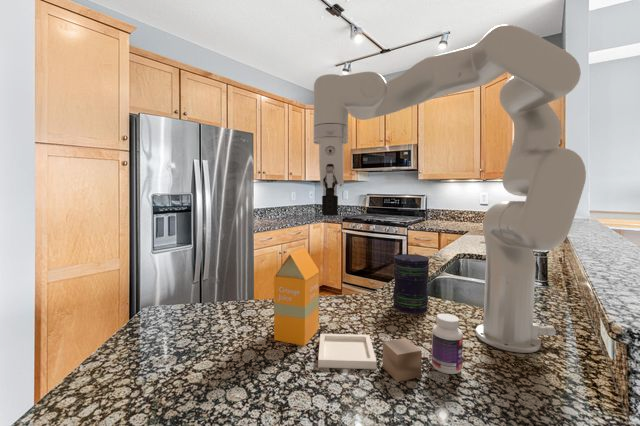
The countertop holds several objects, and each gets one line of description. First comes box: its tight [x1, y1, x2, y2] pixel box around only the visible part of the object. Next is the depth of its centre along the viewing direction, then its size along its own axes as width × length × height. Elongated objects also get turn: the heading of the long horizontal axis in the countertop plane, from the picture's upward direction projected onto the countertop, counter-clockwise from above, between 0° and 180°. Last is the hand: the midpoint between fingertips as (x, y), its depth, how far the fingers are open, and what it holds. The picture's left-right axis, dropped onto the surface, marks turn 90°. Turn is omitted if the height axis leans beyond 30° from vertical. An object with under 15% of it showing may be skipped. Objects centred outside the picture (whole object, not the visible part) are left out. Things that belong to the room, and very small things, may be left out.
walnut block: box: [382, 337, 423, 383], centre depth 56 cm, size 5×5×5 cm
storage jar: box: [392, 253, 430, 315], centre depth 89 cm, size 10×10×15 cm
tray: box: [317, 333, 378, 370], centre depth 63 cm, size 11×11×2 cm
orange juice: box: [273, 247, 320, 347], centre depth 71 cm, size 8×9×20 cm
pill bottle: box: [431, 313, 464, 375], centre depth 58 cm, size 5×5×10 cm
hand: (330, 214), depth 67 cm, fingers open, 9 cm apart
